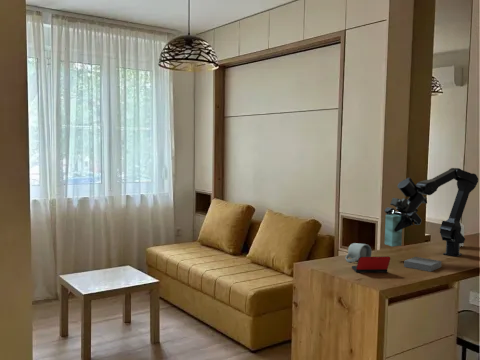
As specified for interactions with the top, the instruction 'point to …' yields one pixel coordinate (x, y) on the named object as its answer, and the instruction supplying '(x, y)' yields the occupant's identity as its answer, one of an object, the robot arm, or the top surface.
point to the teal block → (392, 230)
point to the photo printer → (462, 232)
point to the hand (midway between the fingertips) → (390, 229)
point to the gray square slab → (422, 264)
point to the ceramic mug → (358, 251)
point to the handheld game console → (372, 265)
